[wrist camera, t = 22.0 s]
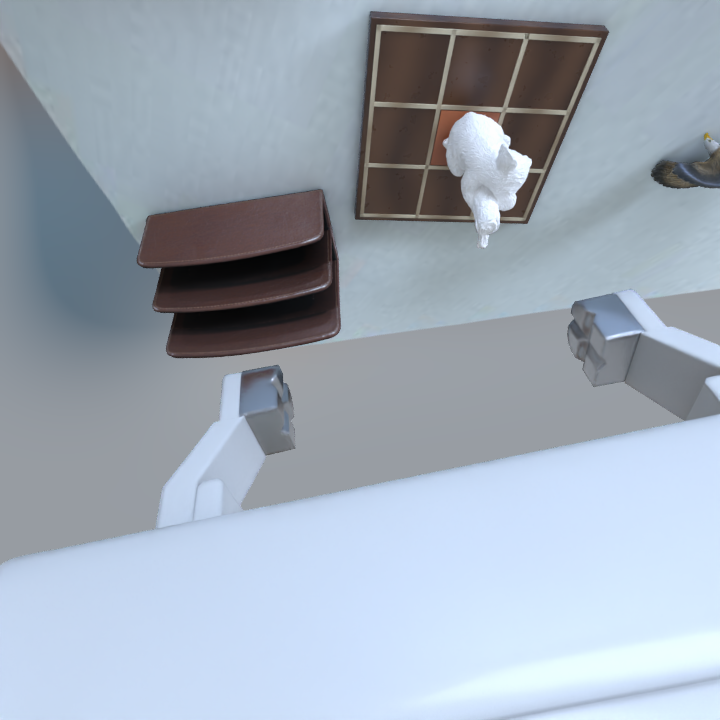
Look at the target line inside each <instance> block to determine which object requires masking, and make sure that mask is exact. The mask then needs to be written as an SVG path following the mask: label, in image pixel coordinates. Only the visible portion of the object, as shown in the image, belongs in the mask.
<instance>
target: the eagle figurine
mask: <svg viewBox="0 0 720 720" xmlns="http://www.w3.org/2000/svg"><path fill="white" fill-rule="evenodd" d="M704 145H705V147H706V149H707V150H708V152H709V154H710V158H709V159H708V160H706V161H705V162H693V163H691V164H688V163H676V162H671V161H661V163H660V164H657V165H656V168H655V169H653V170H652V174H651V176H652V177H654V181H660V182H659V184H663V186H666V187H671V188H677V189H680V188H690V187H698V186H700V187H705V188H720V144H718V143H717V142H715V141H714V140H713V139H711V138H710V137H709V135H708V133H706V134H705V135H704Z"/></svg>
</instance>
